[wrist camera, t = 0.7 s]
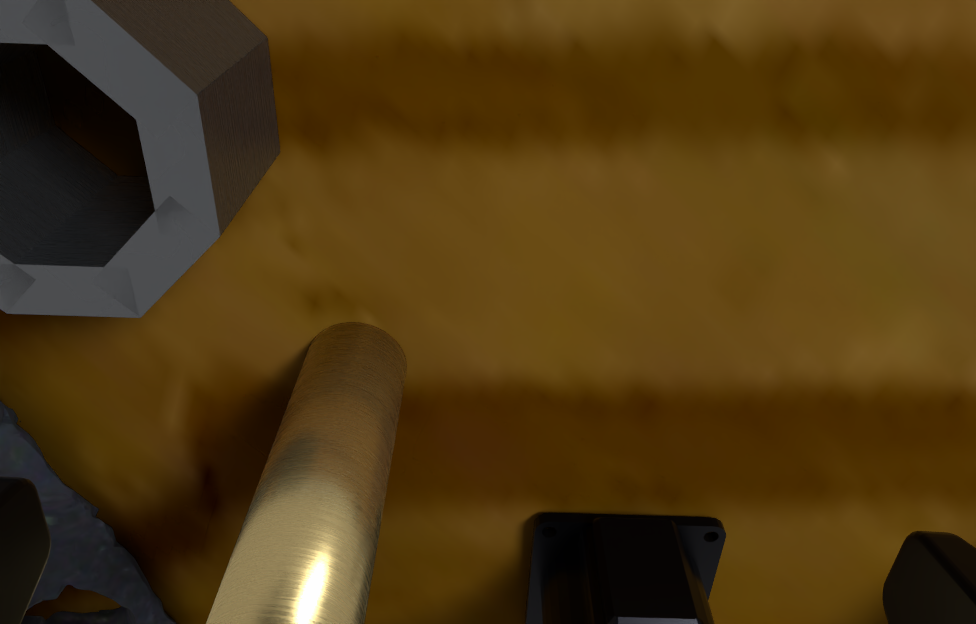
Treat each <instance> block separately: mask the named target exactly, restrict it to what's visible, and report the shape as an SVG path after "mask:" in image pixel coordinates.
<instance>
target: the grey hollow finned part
mask: <svg viewBox="0 0 976 624" xmlns="http://www.w3.org/2000/svg"><path fill="white" fill-rule="evenodd" d="M40 44H47V45H48V46H49V47H51V48H52V49H53V50H54V51H55V52H57V53H58V54H59V55H60V56H61V57H63V58H64V59H65V60H66V61H67V62H68V63H70V64H71V65H72V66H73V67H74V68H76V69H77V70H78V71H79V72H80V73H81V74H83V75H84V76H85V77H86V78H87V79H89V80H90V81H91V82H92V83H93V84H94V85H96V86H97V87H98V88H99V89H100V90H102V91H103V92H104V93H105V94H106V95H108V96H109V97H110V98H111V99H112V100H113V101H115V102H116V103H117V104H118V105H119V106H121V107H122V108H123V109H124V110H125V111H126V112H128V113H129V114H130V115H131V116H132V117H134V118H135V119H136V122H137V126H138V131H139V136H140V141H141V146H142V150H143V155H144V160H145V165H146V170H147V174H148V177H142V176H118V175H116V174H115V173H114V172H113V171H111V170H110V169H109V168H108V167H106V166H105V165H104V164H103V163H101V162H100V161H99V160H98V159H96V158H95V157H94V156H93V155H92V154H90V153H89V152H88V151H87V150H85V149H84V148H83V147H82V146H80V145H79V144H78V143H77V142H75V141H74V140H73V139H72V138H70V137H69V136H68V135H67V134H65V133H64V132H63V131H62V130H60V129H59V128H58V127H57V126H55V122H54V119H53V115H52V111H51V107H50V103H49V100H48V96H47V92H46V88H45V85H44V81H43V77H42V73H41V69H40V66H39V62H38V58H37V54H36V49H37V48H38V47H39V45H40ZM279 153H280V145H279V136H278V127H277V118H276V109H275V100H274V91H273V82H272V73H271V64H270V55H269V46H268V38H267V37H266V36H265V35H264V34H263V33H262V32H261V31H260V30H259V29H258V28H257V27H256V26H255V25H254V24H253V23H252V22H251V21H250V20H249V19H248V18H247V17H246V16H245V15H244V14H242V13H241V12H240V11H239V10H238V9H237V8H236V7H235V6H234V5H233V4H232V3H231V2H230V1H229V0H0V309H1V310H3V311H4V312H5V313H7V314H35V315H66V316H98V317H129V318H141V317H142V316H143V315H144V314H145V313H146V312H147V310H148V309H149V308H150V307H151V306H152V305H153V304H154V303H155V302H156V301H157V300H158V299H159V298H160V297H161V296H162V295H163V294H164V293H165V292H166V291H167V290H168V289H169V288H170V287H171V286H172V285H173V284H174V283H175V282H176V281H177V280H178V279H179V278H180V277H181V276H182V275H183V274H184V273H185V272H186V271H187V270H188V269H189V268H190V267H191V266H192V265H193V264H194V263H195V262H196V260H197V259H198V258H199V257H200V256H201V255H202V254H203V253H204V252H205V251H206V250H207V249H208V248H209V247H210V246H211V245H212V244H213V243H214V242H215V241H216V240H217V239H218V238H219V237H220V236H221V234H222V233H223V232H224V230H225V229H226V227H227V226H228V225H229V223H230V222H231V220H232V219H233V218H234V216H235V215H236V213H237V212H238V211H239V209H240V208H241V206H242V205H243V204H244V202H245V201H246V199H247V198H248V197H249V195H250V194H251V192H252V191H253V190H254V188H255V187H256V185H257V184H258V183H259V181H260V180H261V178H262V177H263V176H264V174H265V173H266V171H267V170H268V169H269V167H270V166H271V164H272V163H273V162H274V160H275V159H276V157H277V156H278V155H279Z"/></svg>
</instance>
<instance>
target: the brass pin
mask: <svg viewBox="0 0 976 624" xmlns="http://www.w3.org/2000/svg"><path fill="white" fill-rule="evenodd" d="M406 370H407V364H406V358H405V355H404V353H403V350H402V349H401V347H400V345H399V344H398V343H397V342H396V340H395V339H393V338H392V337H391V336H390V335H389V334H387V333H386V332H384V331H383V330H381V329H379V328H377V327H374V326H371V325H368V324H364V323H356V322H349V323H341V324H337V325H334V326H331V327H329V328H327V329H325V330H323V331H322V332H321V333H319V334H318V335H317V336H316V337H315V338H314V340H313V341H312V343H311V345H310V347H309V349H308V352H307V355H306V357H305V360H304V363H303V365H302V368H301V371H300V373H299V376H298V379H297V381H296V384H295V387H294V389H293V392H292V395H291V398H290V400H289V403H288V406H287V408H286V411H285V414H284V416H283V419H282V422H281V424H280V427H279V430H278V432H277V435H276V438H275V440H274V443H273V446H272V448H271V451H270V454H269V456H268V459H267V462H266V464H265V467H264V470H263V473H262V475H261V478H260V481H259V483H258V486H257V489H256V491H255V494H254V497H253V499H252V502H251V505H250V507H249V510H248V513H247V515H246V518H245V521H244V523H243V526H242V529H241V531H240V534H239V537H238V539H237V542H236V545H235V548H234V550H233V553H232V556H231V558H230V561H229V564H228V566H227V569H226V572H225V574H224V577H223V580H222V582H221V585H220V588H219V590H218V593H217V596H216V598H215V601H214V604H213V606H212V609H211V612H210V614H209V617H208V620H207V623H206V624H364V621H365V615H366V609H367V603H368V597H369V591H370V585H371V579H372V573H373V567H374V561H375V555H376V549H377V544H378V538H379V532H380V526H381V520H382V514H383V508H384V502H385V496H386V490H387V484H388V478H389V472H390V466H391V460H392V454H393V448H394V442H395V436H396V430H397V424H398V419H399V413H400V407H401V401H402V395H403V389H404V383H405V377H406Z"/></svg>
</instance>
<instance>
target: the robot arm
mask: <svg viewBox="0 0 976 624" xmlns="http://www.w3.org/2000/svg"><path fill="white" fill-rule="evenodd" d="M546 527H553V528H549V529H547V528H546ZM712 531H713V532H712ZM708 532H711V533H708ZM725 538H726V533H725V530H724V527H723V524H722V523H721V521H720V520H718V519H716V518H711V517H676V516H641V515H607V514H572V513H544V514H542V515H539V516H538V517H537V518H536V519H535V522H534V528H533V539H532V550H531V561H530V571H529V582H528V593H527V604H526V615H525V624H714V620H713V617H712V613H711V610H710V607H709V603H708V599H709V595H710V592H711V588H712V585H713V581H714V578H715V574H716V570H717V567H718V563H719V560H720V556H721V553H722V549H723V545H724V542H725ZM50 547H51V537H50V532H49V528H48V525H47V522H46V518H45V515H44V512H43V509H42V505H41V502H40V499H39V495H38V492H37V489H36V487H35V485H34V484H33V483H32V482H31V481H30V480H29V479H26V478H20V477H3V476H0V624H21V622H22V619H23V617H24V615H25V612H26V610H27V608H28V605H29V603H30V601H31V598H32V596H33V594H34V591H35V589H36V586H37V584H38V582H39V579H40V577H41V575H42V572H43V570H44V568H45V565H46V563H47V560H48V557H49V553H50ZM883 605H884V609H885V613H886V616H887V620H888V623H889V624H976V548H974V547H973V546H972V545H970V544H969V543H967V542H966V541H965V540H963V539H962V538H960V537H959V536H957V535H954V534H951V533H945V532H929V531H916V532H912V533H911V534H910V535H908V536H907V537H906V539H905V540H904V542H903V545H902V547H901V549H900V551H899V553H898V555H897V557H896V559H895V562H894V564H893V566H892V568H891V570H890V572H889V574H888V576H887V579H886V581H885V583H884V588H883Z"/></svg>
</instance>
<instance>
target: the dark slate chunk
mask: <svg viewBox="0 0 976 624" xmlns="http://www.w3.org/2000/svg"><path fill="white" fill-rule="evenodd" d="M17 421H18V418H17V416H16V414H15V412H14V411H13V409H11V408H8V407H7V406H5V405H4V404H3V403H2V402H1V401H0V476H3V477H20V478H26V479H29V480H30V481H31V482H32V483H33V484H34V485H35V487H36V489H37V492H38V495H39V499H40V502H41V505H42V509H43V512H44V515H45V518H46V522H47V525H48V528H49V532H50V537H51V547H50V553H49V557H48V560H47V563H46V565H45V568H44V570H43V572H42V575H41V577H40V579H39V582H38V584H37V586H36V589H35V591H34V594H33V596H32V598H31V601H30V603H29V605H28V608H27V610H28V609H29V608H31V607H32V606H34V605H35V604H37V603H40V602H42V601H43V600H53V599H57V598H58V596H59V595H60V593H61V592H62V591H63V589H64V588H65V587H66V586H67V585H72V586H73V587H75V588H77V589H81V590H91V591H94V592H97V593H99V594H101V595H104V596H106V597H108V598H110V599H112V600H114V601H116V602H117V603H118V604H119V605H121V607H120V608H117V609H113V610H100V611H99V612H90V613H74V612H66V611H61V612H56V613H54V614H53V615H51V616H50V617H49V618H48V619H47V620H45V619H44V618H43V617H42V616H24V617H23V619H22V622H21V624H176V622H175V621H174V620H173V619H172V618H170V617H169V616H168V615H167V614H166V613H165V612H164V610H163V606H162V602H161V600H160V599H159V598H158V597H157V596H156V595H155V594H154V593H153V591H152V589H151V587H150V585H149V583H148V581H147V579H146V577H145V576H144V574H143V572H142V571H141V569H140V567H139V565H138V563H137V562H136V560H135V558H134V557H133V556H132V555H131V554H130V553H129V552H128V551H127V550H126V549H125V548H124V547H123V546H121V545H120V544H119V543H118V542H117V541H116V538H115V535H114V531H113V529H112V527H110V526H109V525H107V524H105V523H104V522H102V521H101V520H100V519H98V518H97V517H96V514H97V512H98V510H99V509H98V508H96V507H95V506H93V505H92V504H91V503H89V502H88V501H87V500H86V499H84V498H83V497H82V496H80V495H79V494H77V493H76V492H75V491H74V490H72V489H71V488H69V487H68V486H66V485H65V484H64V483H63V482H62V481H61V480H60V478H59V477H58V476H57V474H56V473H55V472H54V470H53V469H52V468H51V467H50V466H49V464H48V463H47V462H46V461H45V459H44V457H43V454H42V452H41V450H40V448H39V447H38V445H37V444H36V442H35V440H34V439H33V438H32V437H31V436H30V435H29V434H28V433H27V432H26V431H25V430H23V429H22V428H21V427H19V426H18V425H17V424H16V423H17ZM20 422H21V421H20Z"/></svg>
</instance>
